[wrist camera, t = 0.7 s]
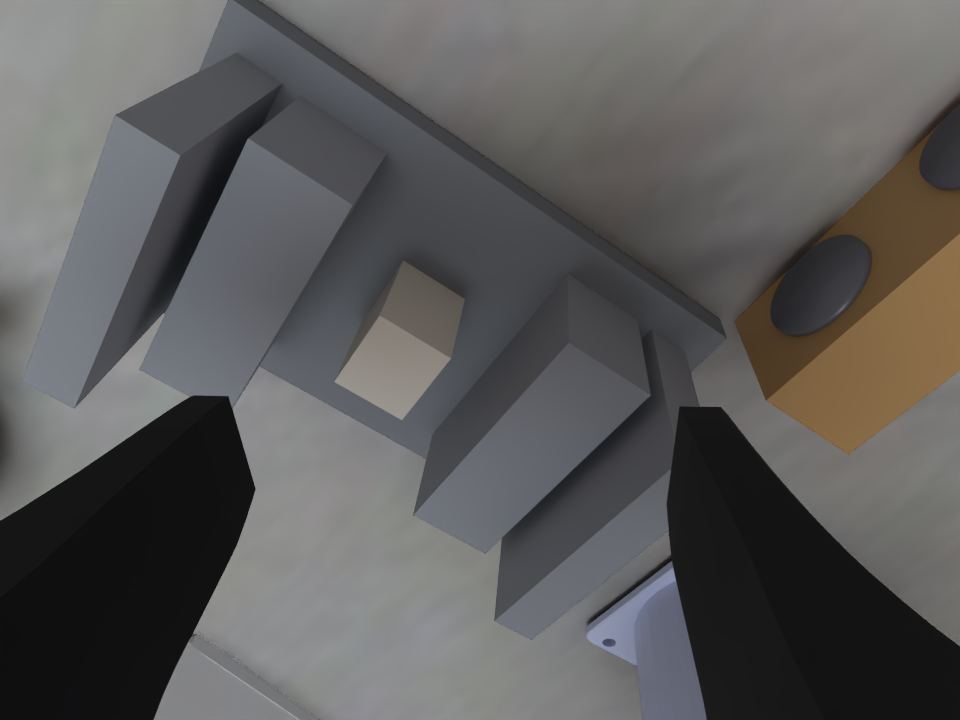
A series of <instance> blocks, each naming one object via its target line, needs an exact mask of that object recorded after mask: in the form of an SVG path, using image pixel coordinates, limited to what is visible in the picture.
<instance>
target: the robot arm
mask: <svg viewBox="0 0 960 720" xmlns="http://www.w3.org/2000/svg"><path fill="white" fill-rule="evenodd" d="M254 492H255V486H254V482H253V479H252V475H251V472H250V468H249V465H248V462H247V458H246V455H245V451H244V448H243V444H242V441H241V437H240V434H239V431H238V427H237V424H236V420H235V417H234V413H233V410H232V406H231V403H230V400H229V396H202V395H193V396H191V397H190V398H188V399H186V400H184V401H183V402H181V403H179V404H178V405H176V406H175V407H173V408H172V409H170V410H169V411H167V412H166V413H164V414H163V415H161V416H160V417H158V418H157V419H155V420H154V421H152V422H151V423H149V424H148V425H146V426H145V427H144V428H142V429H141V430H139V431H138V432H136V433H135V434H133V435H132V436H130V437H129V438H128V439H126V440H125V441H123V442H122V443H120V444H119V445H117V446H116V447H114V448H113V449H112V450H110V451H109V452H107V453H106V454H104V455H103V456H101V457H100V458H98V459H97V460H95V461H94V462H93V463H91V464H90V465H88V466H87V467H85V468H84V469H82V470H81V471H79V472H78V473H76V474H75V475H73V476H71V477H70V478H68V479H67V480H65V481H64V482H62V483H60V484H59V485H57V486H56V487H54V488H52V489H51V490H49V491H48V492H46V493H45V494H43V495H41V496H40V497H38V498H37V499H35V500H34V501H32V502H30V503H29V504H27V505H26V506H24V507H23V508H21V509H19V510H18V511H16V512H14V513H13V514H11V515H9V516H8V517H6V518H4V519H3V520H1V521H0V720H154V717H155V715H156V712H157V710H158V707H159V704H160V702H161V699H162V697H163V694H164V692H165V690H166V687H167V685H168V683H169V681H170V679H171V676H172V674H173V672H174V670H175V668H176V665H177V663H178V662H179V660H180V658H181V656H182V654H183V652H184V650H185V648H186V646H187V644H188V642H189V640H190V638H191V636H192V634H193V632H194V630H195V628H196V626H197V624H198V622H199V620H200V618H201V616H202V614H203V612H204V610H205V608H206V606H207V604H208V602H209V600H210V598H211V596H212V594H213V592H214V590H215V588H216V586H217V584H218V582H219V580H220V578H221V576H222V574H223V572H224V570H225V568H226V566H227V564H228V562H229V560H230V558H231V556H232V554H233V552H234V550H235V547H236V545H237V543H238V540H239V537H240V535H241V532H242V529H243V526H244V523H245V521H246V518H247V515H248V511H249V508H250V505H251V502H252V499H253V496H254ZM666 506H667V516H668V527H669V537H670V546H671V556H672V561H671V562H670V563H668V564H667V565H666V566H664V567H663V568H662V569H661V570H659V571H658V572H657V573H655V574H654V575H653V576H651V577H650V578H649V579H647V580H646V581H645V582H644V583H642V584H641V585H640V586H638V587H637V588H636V589H634V590H633V591H632V592H631V593H629V594H628V595H627V596H625V597H624V598H623V599H621V600H620V601H619V602H617V603H616V604H615V605H614V606H612V607H611V608H610V609H608V610H607V611H606V612H604V613H603V614H602V615H601V616H599V617H598V618H597V619H595V620H594V621H593V622H591V623H590V624H589V625H588V626H587V627H586V637H587V639H588V640H589V641H590V642H591V643H593V644H595V645H597V646H599V647H601V648H603V649H605V650H607V651H609V652H610V653H612V654H614V655H616V656H618V657H620V658H622V659H624V660H626V661H628V662H630V663H632V664H634V665H636V666H637V671H638V682H639V692H640V703H641V713H642V720H960V646H959V645H957V644H956V643H955V642H953V641H952V640H951V639H949V638H948V637H947V636H945V635H944V634H943V633H941V632H940V631H939V630H937V629H936V628H935V627H934V626H932V625H931V624H930V623H929V622H927V621H926V620H925V619H924V618H922V617H921V616H920V615H919V614H917V613H916V612H915V611H914V610H912V609H911V608H910V607H909V606H908V605H907V604H905V603H904V602H903V601H902V600H901V599H900V598H898V597H897V596H896V595H895V594H894V593H893V592H892V591H890V590H889V589H888V588H887V587H886V586H885V585H883V584H882V583H881V582H880V581H879V580H878V579H877V578H875V577H874V576H873V575H872V574H871V573H870V572H868V571H867V570H866V569H865V568H864V567H863V566H862V565H861V564H860V563H859V562H858V561H857V560H856V559H855V558H854V557H853V556H851V555H850V554H849V553H848V552H847V551H846V550H845V549H844V548H843V547H842V546H841V545H840V544H839V543H838V542H837V541H836V540H835V539H834V538H833V537H832V536H831V535H830V534H829V533H828V532H827V531H826V530H825V529H824V527H823V526H822V525H821V524H820V523H819V522H818V521H817V520H816V519H815V518H814V517H813V516H812V515H811V514H810V513H809V512H808V510H807V509H806V508H805V507H804V506H803V505H802V504H801V503H800V502H799V500H798V499H797V498H796V497H795V496H794V495H793V494H792V493H791V491H790V490H789V489H788V488H787V487H786V486H785V485H784V484H783V482H782V481H781V480H780V479H779V478H778V477H777V475H776V474H775V473H774V472H773V471H772V470H771V468H770V467H769V466H768V465H767V464H766V462H765V461H764V460H763V459H762V458H761V456H760V455H759V454H758V453H757V451H756V450H755V449H754V448H753V446H752V445H751V444H750V443H749V441H748V440H747V439H746V438H745V436H744V435H743V434H742V433H741V431H740V430H739V429H738V427H737V426H736V425H735V424H734V422H733V421H732V420H731V418H730V417H729V416H728V415H727V413H726V412H725V411H724V410H723V409H722V408H721V407H686V406H679V413H678V421H677V428H676V436H675V443H674V451H673V459H672V466H671V474H670V481H669V489H668V496H667V504H666Z"/></svg>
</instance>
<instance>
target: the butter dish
mask: <svg viewBox="0 0 960 720" xmlns="http://www.w3.org/2000/svg"><path fill="white" fill-rule="evenodd" d="M154 720H320V719H318V718H317V717H315V716H314V715H313V714H311V713H310V712H308V711H307V710H305V709H304V708H302V707H301V706H300V705H298V704H297V703H295V702H294V701H292V700H291V699H290V698H288V697H287V696H285V695H284V694H282V693H281V692H279V691H278V690H277V689H275V688H274V687H272V686H271V685H269V684H268V683H267V682H265V681H264V680H262V679H261V678H259V677H258V676H256V675H255V674H254V673H252V672H251V671H249V670H248V669H246V668H245V667H243V666H242V665H241V664H239V663H238V662H236V661H235V660H233V659H232V658H231V657H229V656H228V655H226V654H225V653H223V652H222V651H220V650H219V649H218V648H216V647H215V646H213V645H212V644H210V643H209V642H208V641H206V640H205V639H203V638H202V637H200V636H199V635H197V634H196V635H194V636H193V637H191V638H190V640H189V642H188V644H187V646H186V648H185V650H184V652H183V654H182V656H181V658H180V660H179V662H178V663H177V665H176V668H175V670H174V672H173V674H172V676H171V679H170V681H169V683H168V685H167V687H166V690H165V692H164V694H163V697H162V699H161V702H160V704H159V707H158V710H157V712H156V715H155V717H154Z"/></svg>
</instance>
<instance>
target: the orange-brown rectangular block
mask: <svg viewBox="0 0 960 720" xmlns="http://www.w3.org/2000/svg"><path fill="white" fill-rule="evenodd" d="M735 324H736V326H737V329H738V331H739V334H740V336H741V339H742V341H743V344H744V346H745V349H746V351H747V354H748V356H749V359H750V361H751V364H752V366H753V369H754V371H755V374H756V376H757V379H758V382H759V384H760V387H761V389H762V392H763V394H764V397H765V399H766V401H767V402H769V403H771V404H772V405H774V406H775V407H777V408H778V409H780V410H781V411H783V412H784V413H786V414H787V415H789V416H790V417H792V418H793V419H795V420H797V421H798V422H800V423H801V424H803V425H804V426H806V427H807V428H809V429H810V430H812V431H813V432H815V433H816V434H818V435H819V436H821V437H823V438H824V439H826V440H827V441H829V442H830V443H832V444H833V445H835V446H836V447H838V448H839V449H841V450H842V451H844V452H845V453H847V454H849V453H851V452H852V451H853V450H855V449H856V448H857V447H859V446H860V445H861V444H863V443H864V442H865V441H867V440H868V439H869V438H871V437H872V436H873V435H875V434H876V433H877V432H879V431H880V430H881V429H883V428H884V427H885V426H887V425H888V424H889V423H891V422H892V421H893V420H895V419H896V418H897V417H899V416H900V415H901V414H903V413H904V412H905V411H906V410H908V409H909V408H910V407H912V406H913V405H914V404H916V403H917V402H918V401H920V400H921V399H922V398H924V397H925V396H926V395H928V394H929V393H930V392H932V391H933V390H934V389H936V388H937V387H938V386H940V385H941V384H942V383H944V382H945V381H946V380H948V379H949V378H950V377H952V376H953V375H954V374H956V373H957V372H958V371H960V104H958V105H957V106H956V107H955V108H954V109H953V110H952V111H951V112H950V113H949V114H948V115H947V116H946V117H945V118H944V119H943V120H942V121H941V122H940V123H939V124H938V125H937V126H936V127H935V128H934V129H933V130H932V131H931V132H930V133H929V134H928V135H927V136H926V137H925V138H924V139H923V140H922V141H921V142H920V143H919V144H918V145H917V146H915V147H914V148H913V149H912V150H911V151H910V152H909V153H908V154H907V155H906V156H905V157H904V158H903V159H902V160H901V161H900V162H899V163H898V164H897V165H896V166H895V167H894V168H893V169H892V170H891V171H890V172H889V173H888V174H886V175H885V176H884V177H883V178H882V179H881V180H880V181H879V182H878V183H877V184H876V185H875V186H874V187H873V188H872V189H871V190H870V191H869V192H868V193H867V194H866V195H865V196H864V197H863V198H862V199H861V200H860V201H859V202H857V203H856V204H855V205H854V206H853V207H852V208H851V209H850V210H849V211H848V212H847V213H846V214H845V215H844V216H843V217H842V218H841V219H840V220H839V221H838V222H837V223H836V224H835V225H834V226H833V227H832V228H831V229H830V230H829V231H827V232H826V233H825V234H824V235H823V236H822V237H821V238H820V239H819V240H818V241H817V242H816V243H815V244H814V245H813V246H812V247H811V248H810V249H809V250H808V251H807V252H806V253H804V254H803V255H802V256H801V257H800V258H799V259H798V260H797V261H796V262H795V263H794V264H793V265H792V266H791V267H790V268H789V269H788V270H787V271H786V272H785V273H784V274H783V275H782V276H781V277H780V278H779V279H778V280H777V281H776V282H775V283H774V284H773V285H772V286H771V287H770V288H768V289H767V290H766V291H765V292H764V293H763V294H762V295H761V296H760V297H759V298H758V299H757V300H756V301H755V302H754V303H753V304H752V305H751V306H750V307H749V308H748V309H747V310H746V311H745V312H744V313H743V314H742V315H741V316H739V317H738V318H737V319H736V320H735Z"/></svg>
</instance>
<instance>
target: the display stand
mask: <svg viewBox="0 0 960 720" xmlns="http://www.w3.org/2000/svg"><path fill="white" fill-rule="evenodd" d="M163 313H165V316H164V318H163V320H162V322H161V324H160V326H159V329H158V331H157V333H156V335H155V337H154V339H153V341H152V343H151V346H150V348H149V350H148V352H147V354H146V356H145V358H144V360H143V363H142V365H141V367H140V369H139V370H141V371H143V372H145V373H146V374H148V375H150V376H152V377H154V378H156V379H158V380H160V381H161V382H163V383H165V384H167V385H169V386H171V387H173V388H175V389H177V390H178V391H180V392H182V393H184V394H186V395H188V396H190V397H191V396H193V395H202V396H229V400H230V403H231V406H232V408H233V407H234V405H235V404H236V402H237V400H238V399H239V397H240V396H241V394H242V392H243V391H244V389H245V388H246V386H247V385H248V383H249V381H250V380H251V378H252V377H253V375H254V373H255V372H256V370H257V369H258V367H259V366H260V367H262V368H264V369H265V370H267V371H269V372H271V373H273V374H274V375H276V376H278V377H280V378H282V379H283V380H285V381H287V382H289V383H291V384H292V385H294V386H296V387H298V388H300V389H301V390H303V391H305V392H307V393H309V394H310V395H312V396H314V397H316V398H318V399H319V400H321V401H323V402H325V403H327V404H328V405H330V406H332V407H334V408H335V409H337V410H339V411H341V412H343V413H344V414H346V415H348V416H350V417H352V418H353V419H355V420H357V421H359V422H361V423H362V424H364V425H366V426H368V427H370V428H371V429H373V430H375V431H377V432H379V433H380V434H382V435H384V436H386V437H388V438H389V439H391V440H393V441H395V442H397V443H398V444H400V445H402V446H404V447H406V448H407V449H409V450H411V451H413V452H415V453H416V454H418V455H420V456H422V457H424V458H425V459H426V463H425V467H424V472H423V476H422V480H421V484H420V489H419V493H418V497H417V501H416V505H415V510H414V514H413V515H414V516H416V517H417V518H419V519H421V520H423V521H425V522H427V523H429V524H431V525H432V526H434V527H436V528H438V529H440V530H442V531H444V532H446V533H447V534H449V535H451V536H453V537H455V538H457V539H459V540H461V541H463V542H464V543H466V544H468V545H470V546H472V547H474V548H476V549H478V550H479V551H481V552H483V553H486V552H488V551H489V550H490V549H491V548H492V547H493V546H494V545H495V544H496V543H497V542H498V541H499V540H500V539H501V538H502V544H501V554H500V565H499V576H498V587H497V598H496V608H495V619H494V621H495V622H497V623H499V624H501V625H503V626H505V627H507V628H509V629H511V630H513V631H515V632H517V633H519V634H521V635H523V636H525V637H527V638H529V639H531V640H532V639H533V638H535V637H536V636H537V635H538V634H540V633H541V632H542V631H543V630H545V629H546V628H547V627H548V626H550V625H551V624H552V623H553V622H555V621H556V620H557V619H558V618H560V617H561V616H562V615H563V614H565V613H566V612H567V611H568V610H570V609H571V608H572V607H573V606H575V605H576V604H577V603H578V602H580V601H581V600H582V599H583V598H585V597H586V596H587V595H588V594H590V593H591V592H592V591H593V590H595V589H596V588H597V587H598V586H600V585H601V584H602V583H603V582H605V581H606V580H607V579H608V578H610V577H611V576H612V575H613V574H615V573H616V572H617V571H618V570H620V569H621V568H622V567H623V566H625V565H626V564H627V563H628V562H630V561H631V560H632V559H633V558H635V557H636V556H637V555H638V554H640V553H641V552H642V551H643V550H645V549H646V548H647V547H648V546H650V545H651V544H652V543H653V542H655V541H656V540H657V539H658V538H660V537H661V536H662V535H663V534H665V533H666V532H667V531H668V530H669V527H668V516H667V506H666V504H667V496H668V489H669V481H670V474H671V466H672V459H673V451H674V443H675V436H676V428H677V421H678V413H679V406H686V407H699V403H698V399H697V395H696V392H695V388H694V384H693V380H692V376H691V373H690V372H691V371H692V370H693V369H694V368H695V367H697V366H698V365H699V364H700V363H701V362H702V361H703V360H704V359H705V358H706V357H707V356H708V355H709V354H710V353H711V352H712V351H714V350H715V349H716V348H717V347H718V346H719V345H720V344H721V343H722V342H723V341H724V340H725V339H726V338H727V337H726V335H725V332H724V329H723V326H722V324H721V321H720V319H718V318H717V317H715V316H714V315H712V314H711V313H710V312H708V311H707V310H705V309H704V308H702V307H701V306H699V305H698V304H697V303H695V302H694V301H692V300H691V299H689V298H688V297H686V296H685V295H683V294H682V293H681V292H679V291H678V290H676V289H675V288H673V287H672V286H670V285H669V284H668V283H666V282H665V281H663V280H662V279H660V278H659V277H657V276H656V275H655V274H653V273H652V272H650V271H649V270H647V269H646V268H644V267H643V266H642V265H640V264H639V263H637V262H636V261H634V260H633V259H631V258H630V257H628V256H627V255H626V254H624V253H623V252H621V251H620V250H618V249H617V248H615V247H614V246H613V245H611V244H610V243H608V242H607V241H605V240H604V239H602V238H601V237H600V236H598V235H597V234H595V233H594V232H592V231H591V230H589V229H588V228H586V227H585V226H584V225H582V224H581V223H579V222H578V221H576V220H575V219H573V218H572V217H571V216H569V215H568V214H566V213H565V212H563V211H562V210H560V209H559V208H558V207H556V206H555V205H553V204H552V203H550V202H549V201H547V200H546V199H544V198H543V197H542V196H540V195H539V194H537V193H536V192H534V191H533V190H531V189H530V188H529V187H527V186H526V185H524V184H523V183H521V182H520V181H518V180H517V179H516V178H514V177H513V176H511V175H510V174H508V173H507V172H505V171H504V170H502V169H501V168H500V167H498V166H497V165H495V164H494V163H492V162H491V161H489V160H488V159H487V158H485V157H484V156H482V155H481V154H479V153H478V152H476V151H475V150H474V149H472V148H471V147H469V146H468V145H466V144H465V143H463V142H462V141H460V140H459V139H458V138H456V137H455V136H453V135H452V134H450V133H449V132H447V131H446V130H445V129H443V128H442V127H440V126H439V125H437V124H436V123H434V122H433V121H432V120H430V119H429V118H427V117H426V116H424V115H423V114H421V113H420V112H419V111H417V110H416V109H414V108H413V107H411V106H410V105H408V104H407V103H405V102H404V101H403V100H401V99H400V98H398V97H397V96H395V95H394V94H392V93H391V92H390V91H388V90H387V89H385V88H384V87H382V86H381V85H379V84H378V83H377V82H375V81H374V80H372V79H371V78H369V77H368V76H366V75H365V74H363V73H362V72H361V71H359V70H358V69H356V68H355V67H353V66H352V65H350V64H349V63H348V62H346V61H345V60H343V59H342V58H340V57H339V56H337V55H336V54H335V53H333V52H332V51H330V50H329V49H327V48H326V47H324V46H323V45H321V44H320V43H319V42H317V41H316V40H314V39H313V38H311V37H310V36H308V35H307V34H306V33H304V32H303V31H301V30H300V29H298V28H297V27H295V26H294V25H293V24H291V23H290V22H288V21H287V20H285V19H284V18H282V17H281V16H279V15H278V14H277V13H275V12H274V11H272V10H271V9H269V8H268V7H266V6H265V5H264V4H262V3H261V2H259V1H258V0H228V1H227V4H226V6H225V9H224V11H223V14H222V16H221V19H220V21H219V24H218V26H217V28H216V31H215V33H214V36H213V38H212V41H211V43H210V46H209V48H208V51H207V53H206V56H205V58H204V61H203V63H202V65H201V68H200V70H199V72H198V73H196V74H194V75H192V76H190V77H188V78H186V79H184V80H182V81H181V82H179V83H177V84H175V85H173V86H171V87H169V88H167V89H165V90H163V91H161V92H159V93H157V94H155V95H153V96H151V97H149V98H147V99H146V100H144V101H142V102H140V103H138V104H136V105H134V106H132V107H130V108H128V109H126V110H124V111H122V112H120V113H118V114H116V115H115V117H114V120H113V122H112V125H111V128H110V131H109V134H108V137H107V140H106V142H105V145H104V148H103V151H102V154H101V157H100V160H99V162H98V165H97V168H96V171H95V174H94V177H93V180H92V182H91V185H90V188H89V191H88V194H87V197H86V200H85V202H84V205H83V208H82V211H81V214H80V217H79V220H78V222H77V225H76V228H75V231H74V234H73V237H72V240H71V242H70V245H69V248H68V251H67V254H66V257H65V260H64V262H63V265H62V268H61V271H60V274H59V277H58V280H57V282H56V285H55V288H54V291H53V294H52V297H51V300H50V302H49V305H48V308H47V311H46V314H45V317H44V320H43V322H42V325H41V328H40V331H39V334H38V337H37V340H36V342H35V345H34V348H33V351H32V354H31V357H30V360H29V362H28V365H27V368H26V371H25V374H24V377H23V380H22V382H23V383H25V384H27V385H29V386H31V387H33V388H35V389H37V390H39V391H41V392H43V393H45V394H47V395H49V396H51V397H53V398H55V399H56V400H58V401H60V402H62V403H64V404H66V405H68V406H70V407H72V408H75V407H76V406H77V405H78V404H79V403H80V402H81V401H82V400H83V399H84V398H85V397H86V396H87V394H88V393H89V392H90V391H91V390H92V389H93V388H94V387H95V386H96V385H97V384H98V383H99V382H100V380H101V379H102V378H103V377H104V376H105V375H106V374H107V373H108V372H109V371H110V370H111V369H112V368H113V367H114V365H115V364H116V363H117V362H118V361H119V360H120V359H121V358H122V357H123V356H124V355H125V354H126V353H127V352H128V350H129V349H130V348H131V347H132V346H133V345H134V344H135V343H136V342H137V341H138V340H139V339H140V338H141V337H142V335H143V334H144V333H145V332H146V331H147V330H148V329H149V328H150V327H151V326H152V325H153V324H154V323H155V322H156V320H157V319H158V318H159V317H160V316H161V315H162V314H163Z"/></svg>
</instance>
